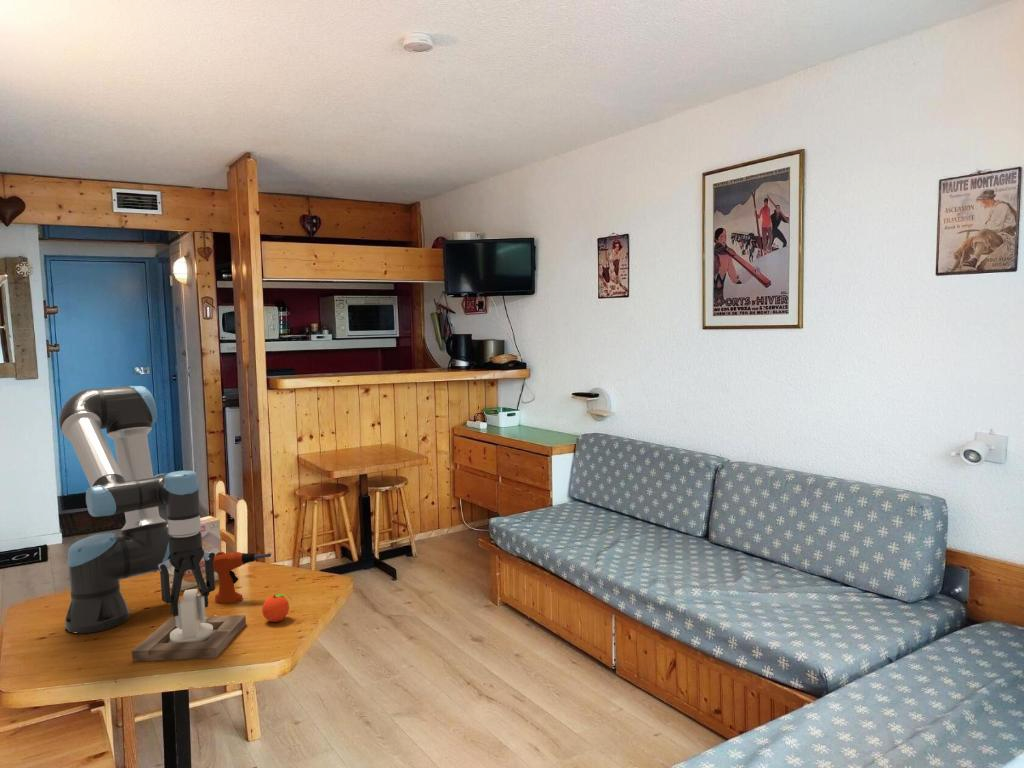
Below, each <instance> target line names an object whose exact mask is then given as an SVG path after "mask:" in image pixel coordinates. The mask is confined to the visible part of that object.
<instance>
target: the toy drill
mask: <svg viewBox="0 0 1024 768" xmlns="http://www.w3.org/2000/svg"><path fill="white" fill-rule="evenodd" d="M271 556H272V554H271V553H270V552H269V553H264V554H262V553H261V554H256V553H252V552H251V553H249V552H247V553H245V552H240V551H234V552H224V551H221V552H218V553H217V554H216V555H215V557H214V561H213V566H214V571H215V572H216V573H218V577H219V580H218V582H219V583H218V584H219V585H218V587H219V588H218V592H217V593H216V594H215V596H214V602H215V603H217V604H235V602H236V603H239V602H241V601H242V600H243V594H241V593H239V592H237V591H236V590H235V584H236V583H237V582H238V581H239V577H237V576H236V573H235V571H233V570H235V569H237V568H239V567H242V566H245V565H246V564H249V563H254V562H255V561H256V559H257V560H259V559H263V558H269V557H271ZM241 599H242V600H241ZM240 600H241V601H240ZM238 601H239V602H238Z"/></svg>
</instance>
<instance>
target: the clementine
mask: <svg viewBox="0 0 1024 768" xmlns="http://www.w3.org/2000/svg"><path fill="white" fill-rule="evenodd" d="M285 596H286V597H288V598H289V599H290V600H292V598H291V597H290V596H288V595H287V594H284V593H281V594H274V595H270V596H269V597H267V598H266V600H265V601H264V602H263V604H262V606H261V607H262V609H261V611H262V615H263V617H264V618H265V619H266V620H267V621H269V622H272V623H276V622H280V621H282V620H283V619H285V618H286V616H287V615H288V613H289V611H290V604H289V601H288V600H287V598H286V597H285Z"/></svg>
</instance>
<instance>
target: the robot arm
mask: <svg viewBox="0 0 1024 768" xmlns="http://www.w3.org/2000/svg"><path fill="white" fill-rule="evenodd" d="M59 413H60V414H59V417H58V423H59V425H58V426H59V428H60V430H61V433H62V435H63V436H64V438H65V439H67V440H69V441H70V443H71V445H72V448H73V450H74V452H75V454H76V457H77V459H78V461H79V463H80V466H81V469H82V470H83V473H84V475H85V477H86V479H87V482H88V485H89V486H90V487H89V488H87V490H86V492H85V505H86V506H87V512H88V514H89V515H90V516H91V517H95V518H98V517H109V516H113V515H118V514H119V515H120V514H124V516H125V524H124V526H122V528H121V531H120V532H121V536H117V535H116V534H115V533H114V532H105V533H97V534H94V535H93V534H92V535H91V536H86V537H85V538H82V539H80V540H78V541H76V542H74V543H72V544H71V545H70V546H69V548H68V551H67V567H68V578H69V590H70V603H69V604H68V608H67V612H66V617H65V621H64V625H65V630H66V629H67V630H68V631H71V632H77V633H76V634H91V633H97V632H102V631H106V630H109V629H112V628H114V627H117V626H120V625H121V624H123V623H125V622H126V621H128V619H129V618H130V610H129V606H128V604H127V602H126V600H125V598H124V596H123V594H122V592H121V585H120V581H121V580H124V579H129V578H134V577H138V576H141V575H142V576H143V575H147V574H150V573H157V572H159V573H160V574H159V575H160V576H159V577H160V589H161V601H162V602H163V603H165V604H170V612H171V613H170V614H171V616H173V618H176V627H177V628H179V629H182V621H181V606H180V603H181V601H179V600H180V593H181V591H182V590H181V584H182V579H183V576H184V572H185V571H187V570H192V571H193V574H194V577H195V580H196V583H197V586H196V587H197V589H198V592H199V593H198V595H197V604H198V619H199V620H200V621H201V622H206V617H207V616H206V608H209V598H208V597H209V596H210V593H211V592H214V591H215V589H216V584H215V583H216V582H215V581H216V580H214V566H213V561H214V557H215V553H213V552H211V551H208V552H204V550H203V549H202V535H201V533H200V532H199V531H200V530H201V521H200V518H201V511H200V509H201V508H200V491H199V490H200V488H199V487H200V484H199V480H198V475H197V472H196V471H193V470H177V471H172V472H168V473H158V474H156V475H154V473H153V465H152V460H151V452H150V447H149V440H148V435H149V433H150V432H151V431H152V429H153V428H152V427H153V426H152V425H153V424H155V423H156V422H157V419H158V414H157V413H158V411H157V405H156V401H155V399H154V396H153V394H152V392H151V391H150V390H149V389H148V388H147V387H145V386H144V385H143V386H142V385H138V386H137V385H127V386H126V385H124V386H115V387H114V386H113V387H112V386H111V387H103V388H102V387H100V388H87V389H84V390H81V391H78V392H77V393H74V394H73V396H71V397H70V398H69V399H68V400H67V401H66V402H65V404H64V405H63V406H62V408H61V410H60V412H59ZM105 429H106V436H107V437H108V438H110V439H112V440H113V441H114V449H115V457H116V459H115V457H114V454H113V452H112V451H111V447H110V446H109V444H108V441H107V439H106V438H105V436H104V434H103V432H102V430H105ZM162 506H166V507H165V508H166V518H167V519H164V518H162V516H161V515H160V512H159V511H160V510H159V507H162ZM167 525H168V527H167ZM203 556H204V560H205V573H206V583H205V581H204V579H203V576H202V573H201V568H200V565H199V563H200V561H201V559H202V558H203ZM171 565H172V566H173V567H174V568H175V569H174V579H173V584H172V589H171V588H170V582H169V572H168V570H169V568H170V566H171ZM180 590H181V591H180ZM68 631H67V632H68Z"/></svg>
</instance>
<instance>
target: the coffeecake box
mask: <svg viewBox="0 0 1024 768" xmlns="http://www.w3.org/2000/svg"><path fill="white" fill-rule="evenodd" d="M200 521H201V530H200V531H199V532H200V533H201V535H202V549H203V550H204V552H208V551H211V552H213V553H215V555H216V554H217V553H218V552H222V541H221V539H222V538H221V535H222V534H221V522H220V521H221V520H220V518H218V517H215V516H212V515H207V516H203V517H200ZM167 527H168V524H167ZM199 565H200V568H201V573H202V576H203V579H204V581H205V584H206V573H205V560H204V556H203V558H202V559H201V561H200V563H199ZM174 569H175V568H174V567H173V566H172V565H171V566H170V568H169V570H168V572H169V582H170V590H172V584H173V579H174ZM214 580H215V581H219V577H218V573H216V572H215V571H214ZM194 587H198V586H197V583H196V580H195V577H194V574H193V571H192V570H187V571H185V572H184V576H183V579H182V584H181V590H180V592H181V591H185V590H189V589H192V588H194Z"/></svg>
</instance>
